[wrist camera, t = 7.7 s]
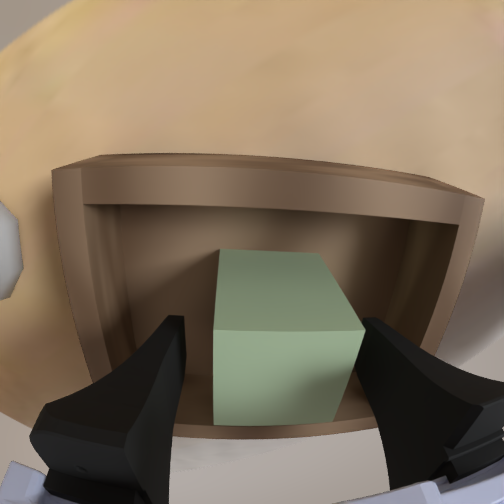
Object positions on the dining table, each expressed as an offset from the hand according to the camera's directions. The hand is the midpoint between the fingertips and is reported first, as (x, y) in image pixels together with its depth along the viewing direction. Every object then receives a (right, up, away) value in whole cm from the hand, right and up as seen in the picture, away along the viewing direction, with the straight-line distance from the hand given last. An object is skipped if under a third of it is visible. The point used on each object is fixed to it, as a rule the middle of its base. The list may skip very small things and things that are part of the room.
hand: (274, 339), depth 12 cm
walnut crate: (0, +2, +4) cm, 4 cm away
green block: (0, +1, +3) cm, 3 cm away
